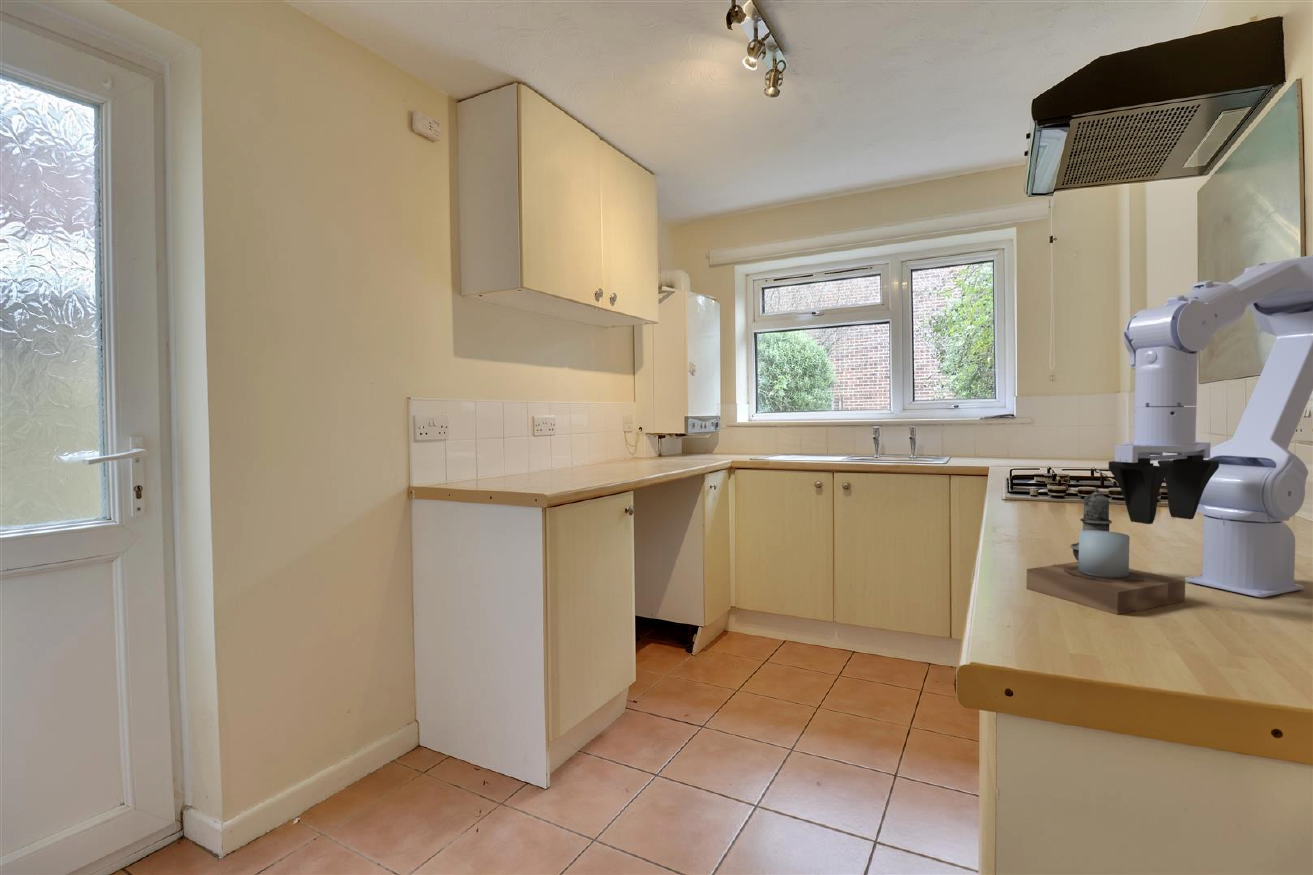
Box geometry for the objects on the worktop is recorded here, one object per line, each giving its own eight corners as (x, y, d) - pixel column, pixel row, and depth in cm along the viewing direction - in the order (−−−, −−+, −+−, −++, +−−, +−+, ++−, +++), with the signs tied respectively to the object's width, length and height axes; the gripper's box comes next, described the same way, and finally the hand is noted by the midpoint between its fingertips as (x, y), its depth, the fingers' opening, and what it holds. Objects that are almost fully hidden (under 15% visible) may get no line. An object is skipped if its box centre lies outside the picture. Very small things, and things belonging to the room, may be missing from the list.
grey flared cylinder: (1131, 579, 82) (1132, 490, 82) (1082, 578, 83) (1084, 490, 83) (1107, 568, 88) (1108, 485, 88) (1061, 567, 89) (1063, 484, 89)
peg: (1095, 585, 79) (1096, 528, 79) (1138, 596, 74) (1140, 536, 74) (1067, 589, 77) (1068, 532, 77) (1110, 601, 72) (1111, 539, 72)
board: (1090, 578, 83) (1090, 559, 83) (1184, 601, 73) (1185, 580, 73) (1026, 588, 79) (1026, 568, 79) (1117, 614, 69) (1117, 592, 68)
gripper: (1165, 407, 80) (1163, 511, 80) (1089, 407, 75) (1087, 519, 75) (1232, 406, 73) (1229, 519, 74) (1154, 407, 68) (1151, 529, 68)
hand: (1162, 520), depth 74 cm, fingers open, 7 cm apart
